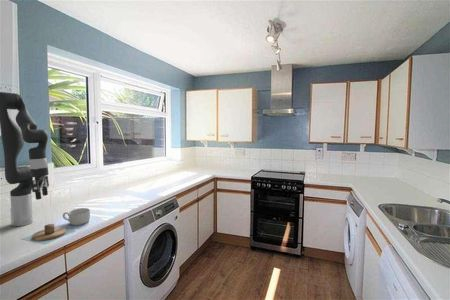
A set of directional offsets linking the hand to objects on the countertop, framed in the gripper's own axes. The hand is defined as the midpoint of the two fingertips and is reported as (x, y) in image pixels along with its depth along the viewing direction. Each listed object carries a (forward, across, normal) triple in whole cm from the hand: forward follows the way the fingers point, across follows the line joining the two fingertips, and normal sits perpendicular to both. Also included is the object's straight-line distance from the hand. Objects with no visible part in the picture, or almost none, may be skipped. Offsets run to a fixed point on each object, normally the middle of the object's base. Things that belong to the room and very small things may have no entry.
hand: (42, 197), depth 126 cm
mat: (+19, +9, +5) cm, 21 cm away
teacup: (+20, -6, +13) cm, 24 cm away
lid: (+18, +9, +5) cm, 21 cm away
